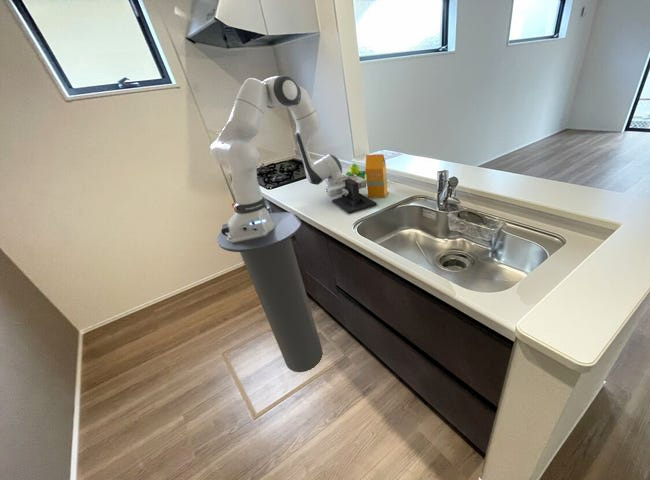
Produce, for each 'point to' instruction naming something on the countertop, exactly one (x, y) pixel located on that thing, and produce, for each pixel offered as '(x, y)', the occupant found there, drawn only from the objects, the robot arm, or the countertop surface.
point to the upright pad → (353, 190)
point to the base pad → (351, 205)
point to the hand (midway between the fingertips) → (353, 191)
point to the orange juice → (376, 176)
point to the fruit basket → (356, 171)
